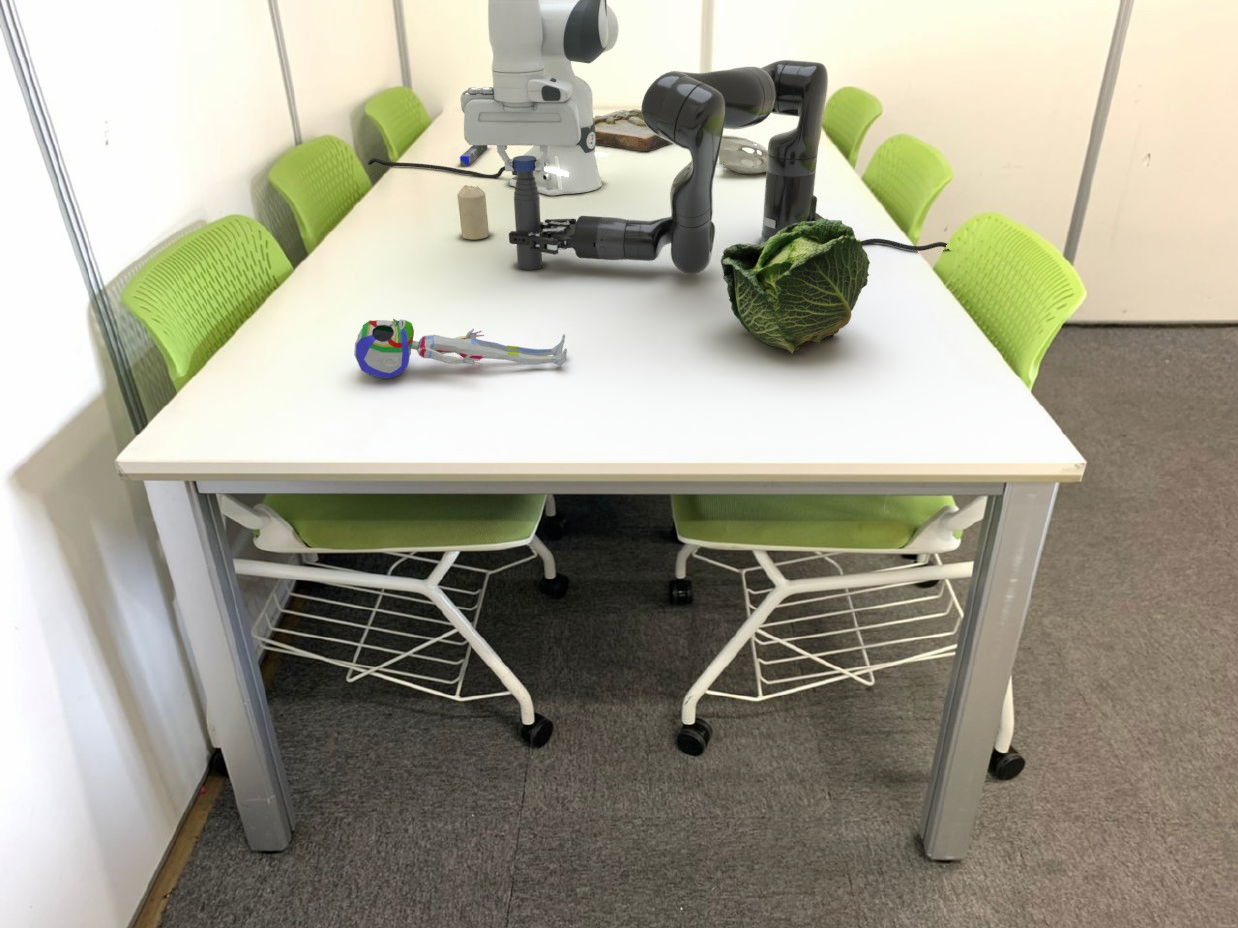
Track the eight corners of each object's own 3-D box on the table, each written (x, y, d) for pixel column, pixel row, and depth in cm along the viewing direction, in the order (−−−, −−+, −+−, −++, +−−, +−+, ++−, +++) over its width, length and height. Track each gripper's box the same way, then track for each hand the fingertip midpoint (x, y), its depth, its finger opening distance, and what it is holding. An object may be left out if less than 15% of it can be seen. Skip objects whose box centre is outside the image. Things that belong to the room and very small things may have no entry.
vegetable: (752, 365, 147) (694, 260, 139) (847, 299, 148) (795, 192, 140) (808, 391, 128) (745, 272, 121) (916, 316, 130) (860, 193, 122)
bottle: (512, 266, 168) (506, 162, 158) (530, 259, 171) (525, 158, 161) (529, 271, 166) (524, 167, 156) (547, 265, 169) (543, 162, 159)
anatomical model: (705, 127, 227) (805, 126, 223) (705, 164, 232) (803, 164, 228) (701, 141, 214) (807, 140, 211) (701, 180, 219) (804, 180, 216)
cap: (522, 165, 162) (522, 154, 161) (541, 168, 160) (541, 157, 159) (508, 170, 159) (507, 159, 158) (527, 173, 157) (527, 162, 156)
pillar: (486, 139, 247) (467, 157, 231) (487, 147, 249) (468, 166, 232) (479, 139, 248) (459, 157, 231) (479, 147, 249) (460, 166, 232)
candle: (493, 232, 185) (489, 183, 180) (481, 241, 181) (476, 191, 175) (469, 230, 187) (464, 181, 181) (457, 238, 182) (451, 189, 177)
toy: (569, 347, 126) (349, 329, 122) (563, 400, 131) (350, 385, 126) (565, 318, 135) (359, 301, 130) (559, 369, 139) (360, 354, 134)
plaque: (647, 125, 237) (559, 112, 252) (647, 153, 241) (560, 139, 256) (706, 107, 258) (622, 97, 273) (705, 133, 262) (622, 121, 277)
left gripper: (454, 91, 150) (463, 175, 157) (576, 91, 148) (579, 176, 156) (463, 84, 155) (471, 166, 163) (580, 84, 154) (583, 166, 161)
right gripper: (612, 206, 166) (524, 202, 170) (593, 230, 155) (499, 224, 158) (613, 246, 170) (527, 240, 174) (594, 271, 159) (503, 265, 162)
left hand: (525, 170), depth 159 cm, fingers closed on cap, 4 cm apart
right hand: (514, 233), depth 166 cm, fingers closed on bottle, 4 cm apart
